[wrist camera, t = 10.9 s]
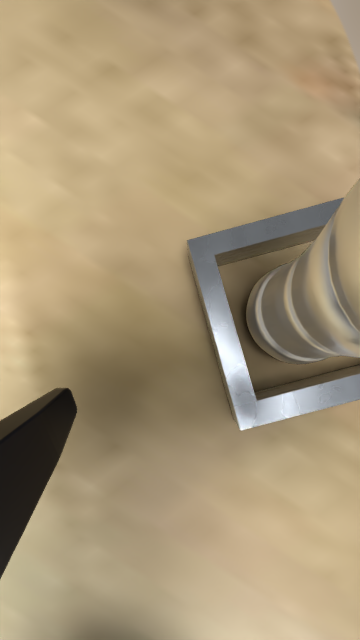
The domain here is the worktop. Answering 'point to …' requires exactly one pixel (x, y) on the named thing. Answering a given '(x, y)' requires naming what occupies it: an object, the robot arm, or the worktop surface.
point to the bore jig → (234, 372)
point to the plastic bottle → (313, 295)
